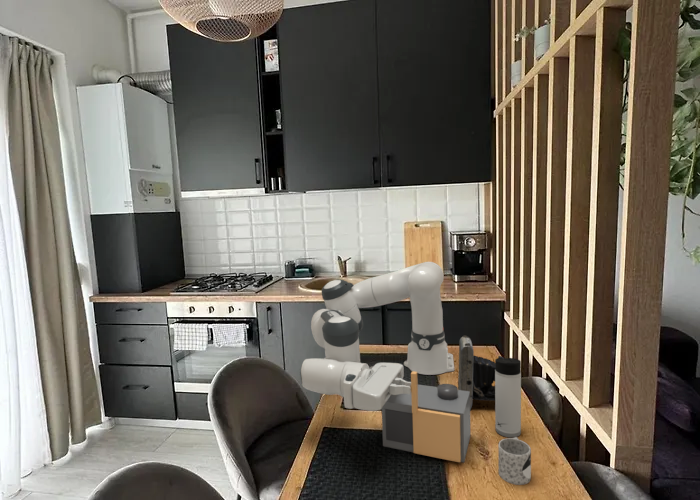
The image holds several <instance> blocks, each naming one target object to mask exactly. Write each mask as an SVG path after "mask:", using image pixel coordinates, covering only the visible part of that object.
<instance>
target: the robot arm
mask: <svg viewBox="0 0 700 500" xmlns="http://www.w3.org/2000/svg"><path fill="white" fill-rule="evenodd" d="M444 277H445V276H444V271H443V268H442V267H441V266H440V265H439V264H437V263H435V262H433V261H424V262H421V263H417V264H413V265H411V266H408V267H405V268H402V269H401V268H400V269H399V270H395V271H392V272H389V273H385V274H381V275H377V276H373V277H369V278H367V279H364V280H361V281H359V282H356V283H355V284H353V282H349V281H347V280H344V279H334V280H330V281H329V282H327V283H326V284H325V285H323V287H322V288H321V297H322V300H323V301H324V305H325V308H321V309H318V310H317V311H316V312H314V313H313V315H312V317H311V323H310V328H311V333H312V337H313V339H314V341H315V343H317V345H318V346H319V347H320V348H322V349H324V353H325V354H324V355H325V357H324V358H305V359H304V360H303V362H302V363H301V366H300V372H299V373H300V374H299V375H300V382H301V386H302V387H303V388H304V389H305V390H308V391H311V392H315V393H318V394H321V395H328V396H333V395H338V396H340V397H342V398H343V404H344V408H346V409H358V410H362V411H367V412H368V411H369V412H370V411H371V412H377V411H380V410H381V411H382V407H383V406H384V404H385V403H386V401H387V400H388V398H389V397H390V396H391V394H392V395H398V394H403V393H404V394H410V393H411V381H407V380H405V379H403V378H404V377H405V369H404V366H405V367H407V368H408V369H409V370H410V371H411V372H412V371H415V372H417V374H420V375H426V376H427V375H428V376H431V375H433V376H434V375H441V374H444V373H449V372H455V364H454V363H455V362H454V354H452V353H450V352H449V348H448V343H447V342H446V339H445V338H446V337H445V336H446V335H445V331H444V320H443V319H444V318H443V316H444V315H443V311H444V310H443V307H442V297H441V285H442V284H443V282H444V279H445V278H444ZM408 298H409V301H410V306H411V321H412V325H411V326H412V329H411V334H410V337H411V341H410V342H409V343H408V345H407V359H406V360H405V361H404V362H403V364H402V363H398V362H377V363H375V364H374V365H373V366H372V365H371V366H369V365H368V363H364V362H361V353H360V352H361V349H360V339H359V336H360V332H361V331H362V329H363V328H364V321H363V316H361V312H360V309H362V308H363V309H365V308H374V307H379V306H384V305H389V304H392V303H393V304H394V303H397V302H401V301H403V300H405V299H408Z"/></svg>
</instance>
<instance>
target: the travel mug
mask: <svg viewBox="0 0 700 500" xmlns="http://www.w3.org/2000/svg"><path fill="white" fill-rule="evenodd" d="M494 362H495V366H496V367H495V382H494V386H495V401H494V402H495V405H494V411H495V412H494V413H495V414H494V415H495V419H494V420H495V422H494V423H495V424H494V426H495V431H496V433H497V434H498V435H500V436H502V437H505V438H514V437H517V438H518V437H519V436H520V435H521V433H522V414H521V413H522V371H521V368H522V365H521V364H522V363H521V362H522V361H521V360H520V359H517V358H514V357H508V358H507V357H505V358H504V357H503V358H498V357H497V358H496V359H494Z"/></svg>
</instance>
